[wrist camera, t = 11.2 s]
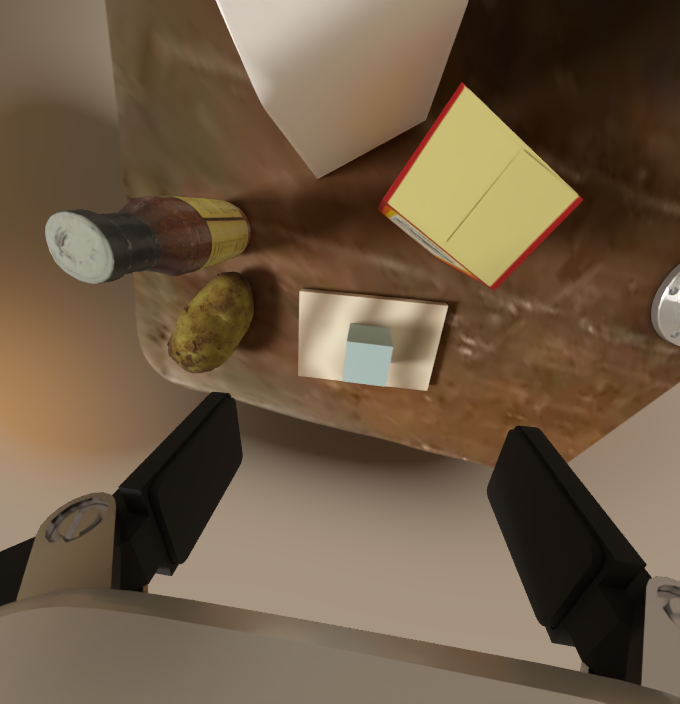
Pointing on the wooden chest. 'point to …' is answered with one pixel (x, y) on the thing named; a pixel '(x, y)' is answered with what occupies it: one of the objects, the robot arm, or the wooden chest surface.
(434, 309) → the birch board
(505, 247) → the baking soda box
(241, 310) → the potato
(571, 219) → the wooden chest surface
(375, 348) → the teal block
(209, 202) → the sauce bottle
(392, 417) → the wooden chest surface
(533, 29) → the wooden chest surface
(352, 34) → the milk
